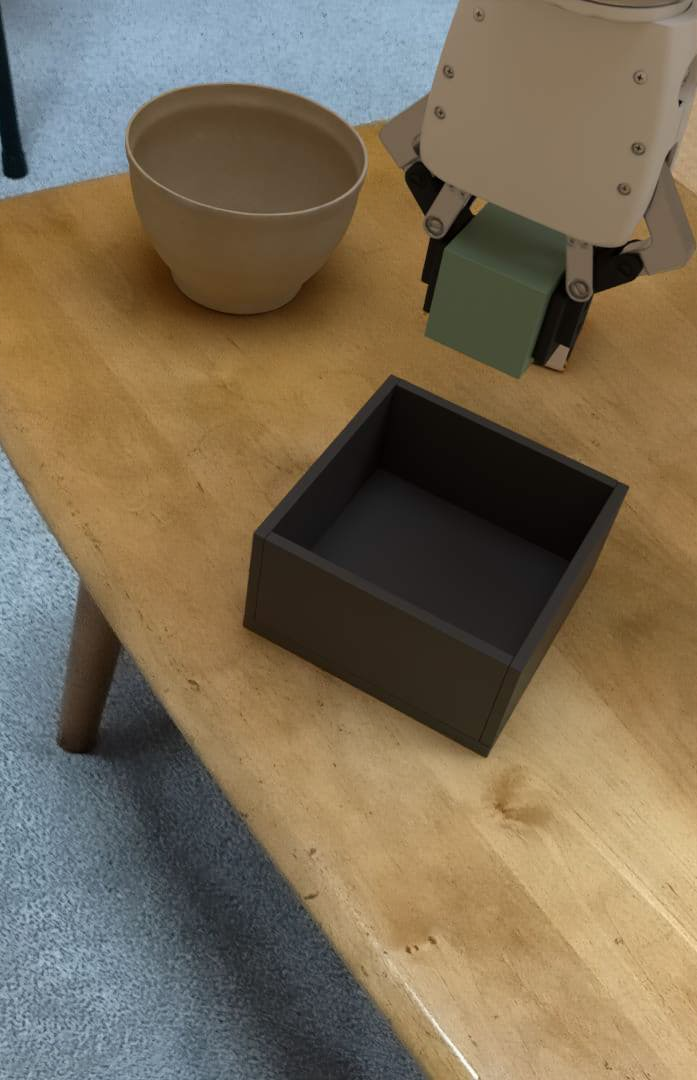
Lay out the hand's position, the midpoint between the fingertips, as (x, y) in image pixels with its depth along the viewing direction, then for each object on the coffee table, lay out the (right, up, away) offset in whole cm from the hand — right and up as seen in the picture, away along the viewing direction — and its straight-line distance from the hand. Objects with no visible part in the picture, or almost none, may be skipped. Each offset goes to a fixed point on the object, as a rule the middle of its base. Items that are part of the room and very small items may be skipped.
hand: (495, 320), depth 59 cm
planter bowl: (-15, +9, +32) cm, 36 cm away
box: (0, 0, 0) cm, 1 cm away
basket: (-3, -14, +14) cm, 20 cm away
